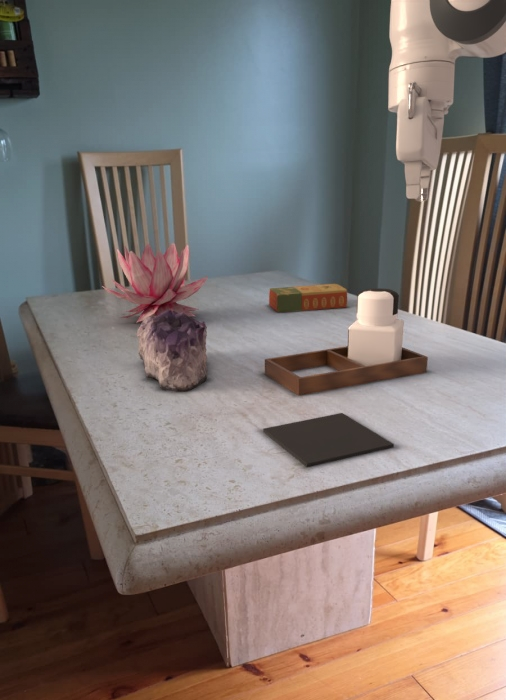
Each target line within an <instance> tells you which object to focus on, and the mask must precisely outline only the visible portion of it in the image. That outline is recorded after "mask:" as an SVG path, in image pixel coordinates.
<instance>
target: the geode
mask: <svg viewBox="0 0 506 700" xmlns="http://www.w3.org/2000/svg"><path fill="white" fill-rule="evenodd" d="M140 323H141V324H140V326H139V327H138V329H137V331H136V335H137V336H136V338H137V340H138V355H139V358H140V360H141V361H143V362H144V371H145V378H149V379H156V381H158V384H159V387H160V389H161V390H163V391H168V392H176V393H177V392H187V391H191V390H192V389H194V388H198V387H199V386H201V384H202V383H205V381H206V380H207V378H208V368H207V367H208V366H207V362H208V356H207V346H206V345H207V337H208V335H207V334H208V331H207V329H208V326H207V325H206V323H205V321H199V320H198V319H195V318H192V317H189V316H187V315H186V314H185V313H184V312H182V313H179V314H178V313H177V312H176V311H171V310H168V311H166V312H163V313H161V314H160V315H158V316H156V317H151V316H150V317H146V318H144V320H143V321H141V322H140Z"/></svg>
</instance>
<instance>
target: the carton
mask: <svg viewBox="0 0 506 700" xmlns="http://www.w3.org/2000/svg"><path fill="white" fill-rule="evenodd" d="M268 305H269V307H271V308H272V309H273V310H274V311H275V312H276V313H279V314H280V313H290V312H304V311H317V310H330V309H331V310H332V309H342V308H347V307H348V290H347V289H346V288H345V287H343V286H342V285H340V284H337V283H325V284H313V285H298V286H286V287H285V286H283V287H270V288H269V293H268Z"/></svg>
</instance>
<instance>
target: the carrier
mask: <svg viewBox="0 0 506 700" xmlns="http://www.w3.org/2000/svg"><path fill="white" fill-rule="evenodd" d="M347 354H348V345H347V346H346V345H345V346H340V347H333V348H326V349H321V350H313V351H308V352H301V353H296V354H295V353H294V354H288V355H282V356H276V357H269V358H264V375H265V376H267V377H268V378H270V379H271V380H273V381H275V382H276V383H278V384H279V385H281V386H283V387H284V388H286V389H288V390H289V391H291V392H292V393H294V394H296V395H297V396H303V395H310V394H315V393H320V392H326V391H330V390H331V391H332V390H337V389H343V388H347V387H353V386H359V385H364V384H365V385H366V384H370V383H376V382H381V381H386V380H392V379H397V378H403V377H408V376H414V375H419V374H424V373H427V371H428V370H427V369H428V358H429V357H428V356H427V355H424V354H422V353H419V352H416V351H414V350H411V349H409V348H406V347H403V346H402V356H401V360H399V361H393V362H387V363H381V364H375V365H369V366H364V365H362V364H360V363H358V362H355V361H353V360H351V359H349V358H347ZM325 366H328V367H329V368H331V369H334V371H330V372H323V373H317V374H312V375H306V376H299V375H298V374H296V373H294V372H295V371H300V370H306V369H307V370H308V369H312V368H319V367H325Z"/></svg>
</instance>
